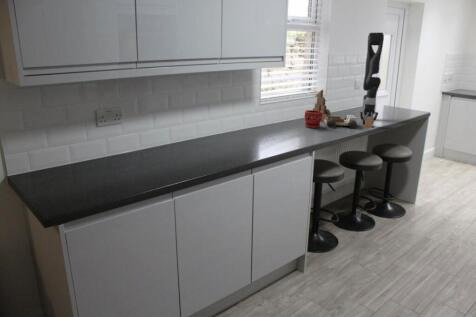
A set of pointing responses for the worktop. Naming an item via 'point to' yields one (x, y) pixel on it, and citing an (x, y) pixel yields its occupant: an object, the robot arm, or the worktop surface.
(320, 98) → the wooden toy
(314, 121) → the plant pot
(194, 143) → the worktop surface
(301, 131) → the worktop surface
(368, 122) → the engine block
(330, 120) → the car chassis
